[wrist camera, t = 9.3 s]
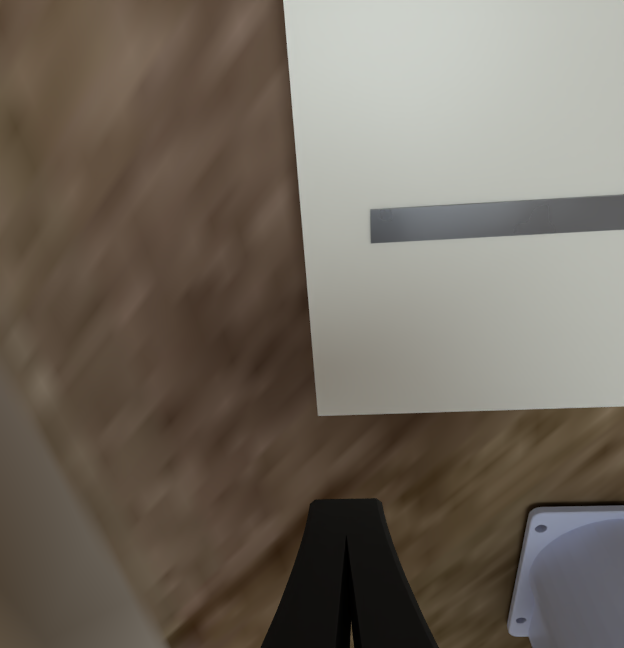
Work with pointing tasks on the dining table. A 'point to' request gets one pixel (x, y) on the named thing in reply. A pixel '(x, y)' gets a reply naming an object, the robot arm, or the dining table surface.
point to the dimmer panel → (461, 201)
